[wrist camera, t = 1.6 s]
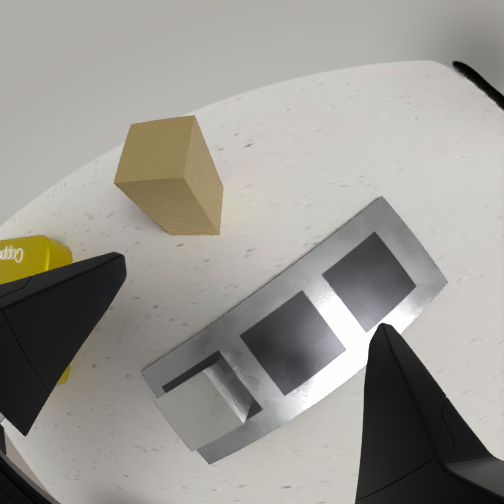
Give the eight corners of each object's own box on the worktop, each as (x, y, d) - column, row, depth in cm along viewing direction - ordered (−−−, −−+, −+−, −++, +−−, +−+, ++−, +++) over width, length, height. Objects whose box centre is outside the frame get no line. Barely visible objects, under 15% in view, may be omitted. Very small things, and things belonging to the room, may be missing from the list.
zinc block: (205, 433, 19) (191, 451, 16) (173, 390, 21) (153, 401, 17) (250, 407, 20) (244, 423, 16) (216, 362, 21) (203, 370, 17)
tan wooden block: (219, 235, 24) (183, 177, 15) (170, 234, 25) (113, 183, 15) (223, 187, 25) (194, 115, 16) (176, 189, 26) (131, 124, 16)
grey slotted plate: (210, 462, 19) (209, 464, 19) (143, 371, 22) (140, 372, 21) (445, 283, 21) (448, 282, 21) (380, 198, 24) (382, 195, 23)
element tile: (77, 244, 26) (48, 230, 21) (73, 386, 22) (43, 392, 17) (5, 250, 27) (-19, 241, 23) (0, 361, 23) (-26, 360, 19)
